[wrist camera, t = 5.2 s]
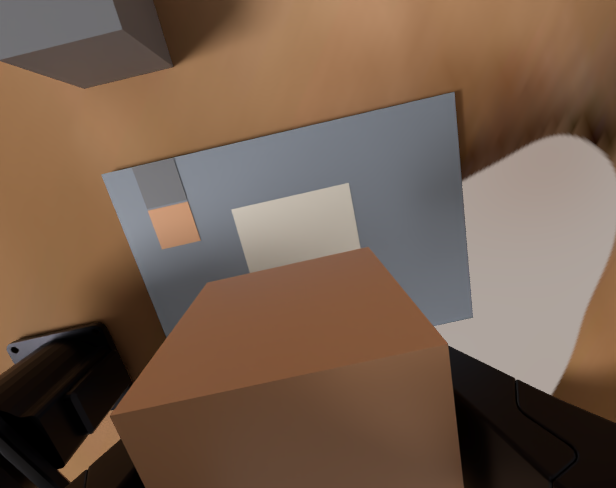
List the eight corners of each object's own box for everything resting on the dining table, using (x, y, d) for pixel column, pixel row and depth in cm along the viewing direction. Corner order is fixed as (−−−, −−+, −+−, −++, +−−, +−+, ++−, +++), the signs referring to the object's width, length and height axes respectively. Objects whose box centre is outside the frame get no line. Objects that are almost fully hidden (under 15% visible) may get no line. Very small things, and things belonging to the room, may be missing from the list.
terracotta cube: (251, 412, 11) (212, 623, 6) (207, 282, 9) (109, 415, 4) (392, 382, 10) (473, 572, 6) (368, 246, 9) (447, 344, 4)
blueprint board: (186, 373, 21) (182, 379, 21) (107, 174, 18) (100, 174, 17) (467, 313, 21) (473, 318, 20) (449, 94, 17) (454, 91, 16)
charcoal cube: (85, 89, 17) (-2, 60, 12) (43, -19, 15) (-74, -101, 10) (173, 67, 16) (122, 29, 12) (139, -44, 15) (65, -139, 10)
